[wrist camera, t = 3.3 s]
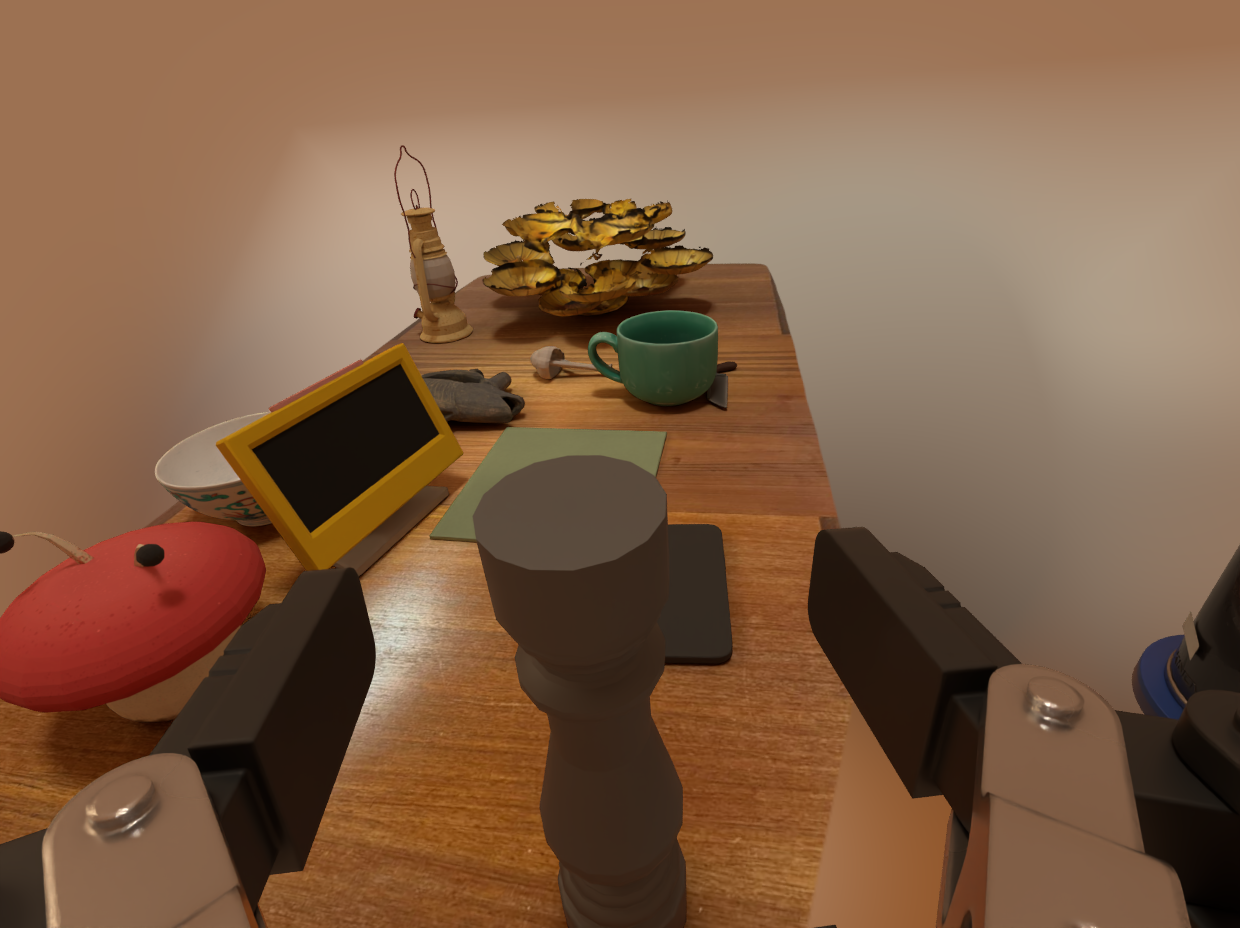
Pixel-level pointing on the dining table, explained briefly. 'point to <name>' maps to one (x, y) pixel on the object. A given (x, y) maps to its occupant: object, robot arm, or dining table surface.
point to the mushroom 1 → (609, 275)
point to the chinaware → (210, 476)
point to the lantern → (433, 277)
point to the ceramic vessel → (473, 396)
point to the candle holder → (593, 675)
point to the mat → (541, 445)
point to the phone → (696, 597)
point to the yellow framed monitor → (347, 461)
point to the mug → (662, 355)
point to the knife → (720, 385)
